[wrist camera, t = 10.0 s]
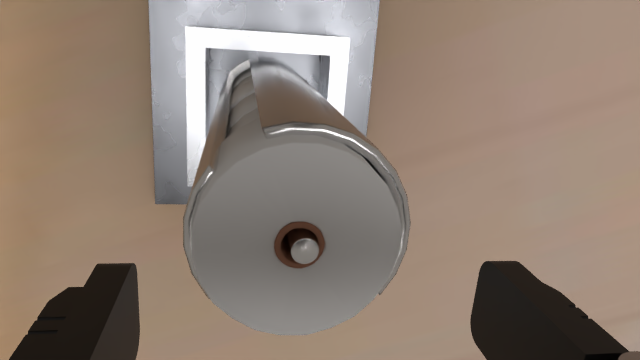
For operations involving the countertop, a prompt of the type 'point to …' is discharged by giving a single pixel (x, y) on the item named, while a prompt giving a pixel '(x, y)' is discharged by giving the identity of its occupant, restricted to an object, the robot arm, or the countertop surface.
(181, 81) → the board
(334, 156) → the silver metal cylinder
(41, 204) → the countertop surface
